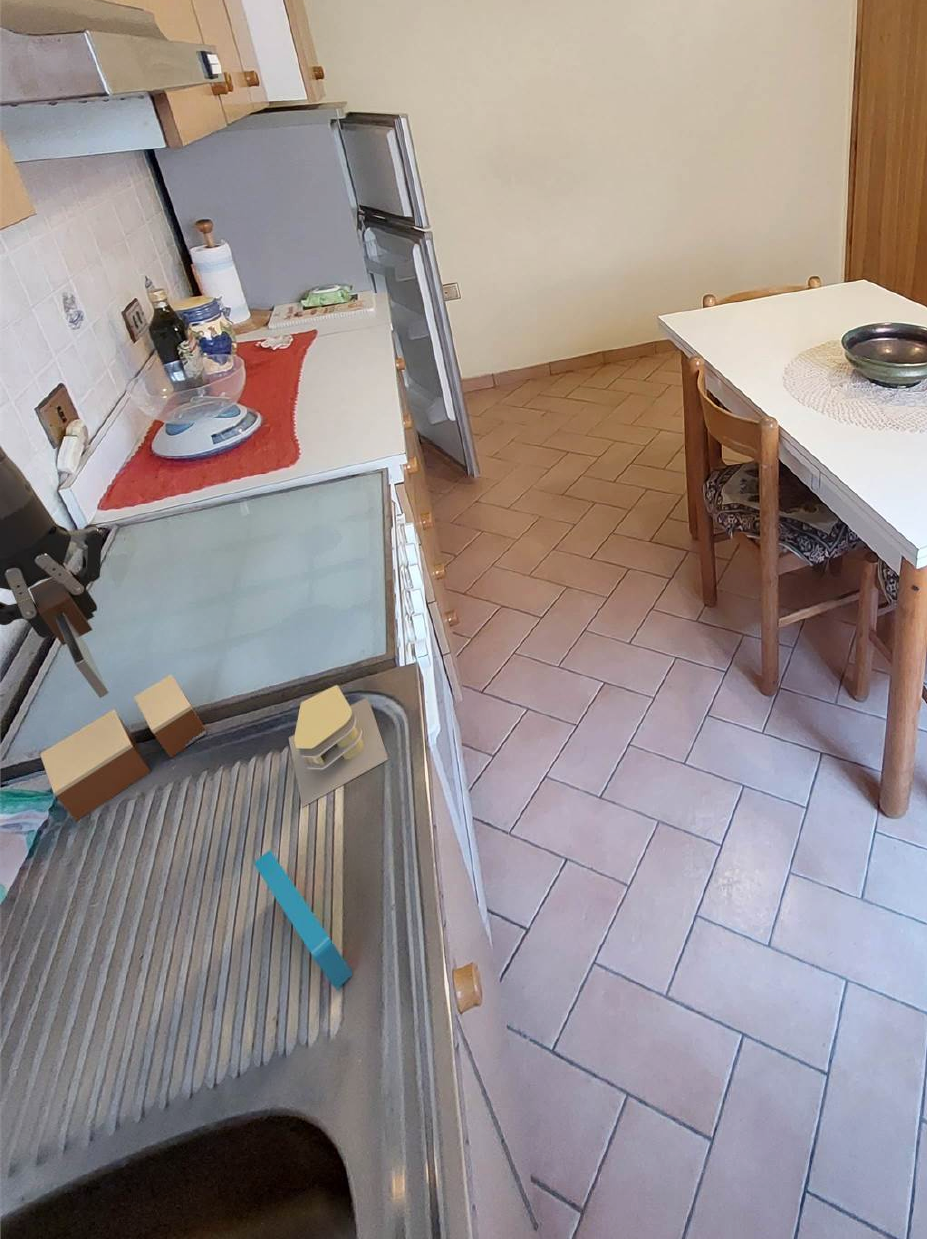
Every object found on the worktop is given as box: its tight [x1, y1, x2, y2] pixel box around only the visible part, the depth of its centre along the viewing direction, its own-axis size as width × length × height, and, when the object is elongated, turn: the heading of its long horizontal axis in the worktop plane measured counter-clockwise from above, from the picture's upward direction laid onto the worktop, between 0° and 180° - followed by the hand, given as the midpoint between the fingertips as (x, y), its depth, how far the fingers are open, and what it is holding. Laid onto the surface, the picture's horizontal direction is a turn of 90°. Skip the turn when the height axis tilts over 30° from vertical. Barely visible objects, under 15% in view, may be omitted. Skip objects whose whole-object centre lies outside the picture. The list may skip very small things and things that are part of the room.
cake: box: [39, 709, 152, 821], centre depth 80 cm, size 7×7×5 cm
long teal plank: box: [253, 849, 353, 991], centre depth 64 cm, size 12×2×6 cm, turn 50°
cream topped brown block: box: [133, 674, 207, 759], centre depth 84 cm, size 4×7×5 cm, turn 48°
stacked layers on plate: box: [288, 684, 389, 808], centre depth 80 cm, size 10×9×6 cm
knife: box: [29, 577, 110, 699], centre depth 77 cm, size 3×18×5 cm, turn 47°
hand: (71, 624), depth 82 cm, fingers closed on knife, 3 cm apart
